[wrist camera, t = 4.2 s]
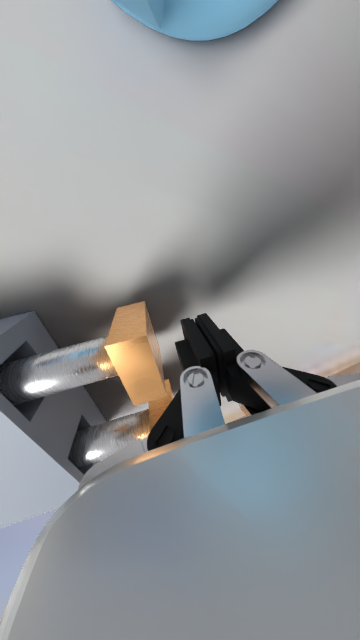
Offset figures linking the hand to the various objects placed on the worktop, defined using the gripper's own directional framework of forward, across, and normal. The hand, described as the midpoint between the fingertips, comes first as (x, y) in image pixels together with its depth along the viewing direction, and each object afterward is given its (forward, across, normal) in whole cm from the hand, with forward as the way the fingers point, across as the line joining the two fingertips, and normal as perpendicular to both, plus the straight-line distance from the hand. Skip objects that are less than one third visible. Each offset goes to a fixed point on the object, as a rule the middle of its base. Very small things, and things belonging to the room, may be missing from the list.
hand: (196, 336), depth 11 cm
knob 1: (+3, +9, 0) cm, 9 cm away
